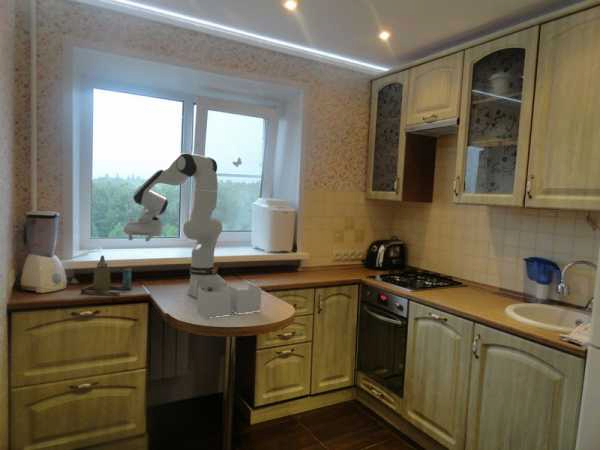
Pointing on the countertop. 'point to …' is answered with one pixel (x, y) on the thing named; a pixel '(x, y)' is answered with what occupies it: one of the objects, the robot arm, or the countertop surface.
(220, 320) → the countertop surface
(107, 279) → the squeeze bottle
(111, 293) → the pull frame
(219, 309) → the storage container
